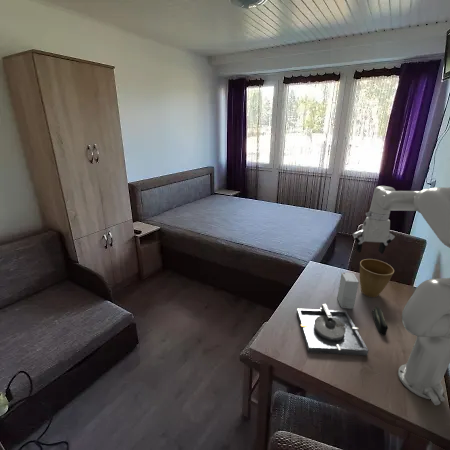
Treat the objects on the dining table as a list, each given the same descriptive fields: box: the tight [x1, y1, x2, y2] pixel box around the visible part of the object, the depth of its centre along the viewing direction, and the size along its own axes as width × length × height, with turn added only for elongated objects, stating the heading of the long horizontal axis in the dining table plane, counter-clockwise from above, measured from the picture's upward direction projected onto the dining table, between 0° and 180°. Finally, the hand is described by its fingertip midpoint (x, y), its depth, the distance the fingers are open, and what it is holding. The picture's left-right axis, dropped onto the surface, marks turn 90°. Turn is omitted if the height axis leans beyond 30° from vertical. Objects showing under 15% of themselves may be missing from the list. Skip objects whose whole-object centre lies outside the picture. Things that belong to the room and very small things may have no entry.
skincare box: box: [336, 272, 360, 310], centre depth 126 cm, size 8×6×15 cm
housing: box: [296, 307, 370, 356], centre depth 110 cm, size 23×23×3 cm
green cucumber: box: [371, 306, 389, 336], centre depth 115 cm, size 5×3×15 cm
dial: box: [314, 303, 346, 341], centre depth 110 cm, size 16×12×6 cm
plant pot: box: [359, 258, 395, 298], centre depth 133 cm, size 15×15×16 cm
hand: (369, 251), depth 118 cm, fingers open, 9 cm apart
